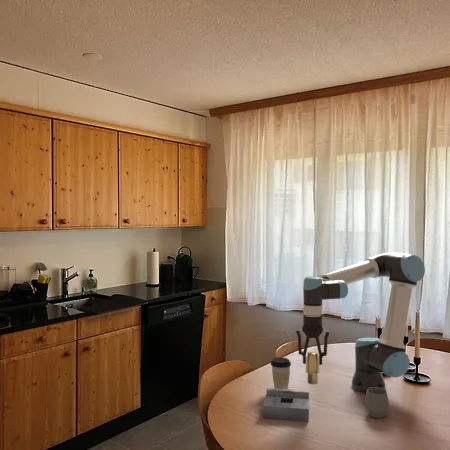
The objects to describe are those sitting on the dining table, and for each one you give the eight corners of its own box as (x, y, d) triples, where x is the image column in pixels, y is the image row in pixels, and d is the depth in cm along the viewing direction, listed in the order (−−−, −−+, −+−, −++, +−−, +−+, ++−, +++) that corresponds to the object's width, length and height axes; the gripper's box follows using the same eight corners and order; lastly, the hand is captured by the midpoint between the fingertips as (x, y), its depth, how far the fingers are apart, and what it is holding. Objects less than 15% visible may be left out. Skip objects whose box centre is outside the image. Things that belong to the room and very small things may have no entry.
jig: (309, 407, 190) (309, 390, 189) (308, 421, 176) (308, 404, 176) (266, 404, 193) (266, 387, 193) (263, 418, 179) (262, 400, 179)
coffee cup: (290, 397, 200) (290, 363, 200) (269, 395, 202) (269, 362, 202) (291, 389, 210) (291, 357, 209) (271, 387, 211) (271, 356, 211)
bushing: (317, 381, 184) (317, 352, 184) (317, 384, 181) (317, 354, 181) (307, 380, 185) (307, 351, 185) (307, 383, 181) (307, 354, 181)
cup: (386, 422, 175) (386, 397, 174) (362, 417, 180) (361, 392, 179) (391, 413, 183) (391, 389, 183) (368, 408, 188) (368, 384, 187)
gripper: (333, 313, 185) (333, 370, 185) (292, 312, 188) (291, 367, 188) (334, 317, 178) (334, 376, 178) (291, 316, 181) (291, 373, 181)
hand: (312, 371), depth 183 cm, fingers closed on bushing, 4 cm apart
